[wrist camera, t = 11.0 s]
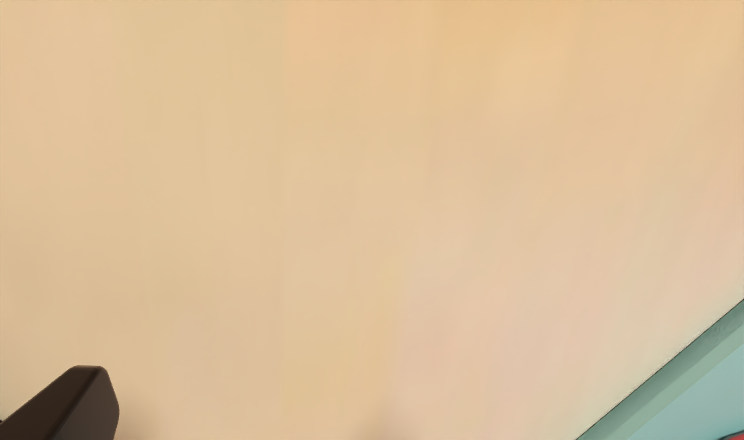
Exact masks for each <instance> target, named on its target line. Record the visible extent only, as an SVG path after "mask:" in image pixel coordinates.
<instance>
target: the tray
mask: <svg viewBox="0 0 744 440" xmlns="http://www.w3.org/2000/svg"><path fill="white" fill-rule="evenodd" d="M741 432H744V300H743V301H742V302H740V303H739V304H738V305H737V306H736V307H734V308H733V309H732V310H731V311H730V312H728V313H727V314H726V315H725V316H724V317H722V318H721V319H720V320H719V321H718V322H717V323H715V324H714V325H713V326H712V327H711V328H709V329H708V330H707V331H706V332H705V333H703V334H702V335H701V336H700V337H699V338H697V339H696V340H695V341H694V342H693V343H691V344H690V345H689V346H688V347H687V348H686V349H684V350H683V351H682V352H681V353H680V354H678V355H677V356H676V357H675V358H674V359H672V360H671V361H670V362H669V363H668V364H666V365H665V366H664V367H663V368H662V369H660V370H659V371H658V372H657V373H656V374H655V375H653V376H652V377H651V378H650V379H649V380H647V381H646V382H645V383H644V384H643V385H641V386H640V387H639V388H638V389H637V390H635V391H634V392H633V393H632V394H631V395H629V396H628V397H627V398H626V399H625V400H623V401H622V402H621V403H620V404H619V405H618V406H616V407H615V408H614V409H613V410H612V411H610V412H609V413H608V414H607V415H606V416H604V417H603V418H602V419H601V420H600V421H598V422H597V423H596V424H595V425H594V426H592V427H591V428H590V429H589V430H588V431H587V432H585V433H584V434H583V435H582V436H581V437H579V438H578V439H577V440H722V439H724V438H726V437H728V436H731V435H734V434H737V433H741Z"/></svg>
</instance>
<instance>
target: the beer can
mask: <svg viewBox="0 0 744 440" xmlns="http://www.w3.org/2000/svg"><path fill="white" fill-rule="evenodd" d="M722 440H744V432H741V433H737V434H734V435H731V436H728V437H726V438H724V439H722Z"/></svg>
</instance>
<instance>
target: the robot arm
mask: <svg viewBox="0 0 744 440" xmlns="http://www.w3.org/2000/svg"><path fill="white" fill-rule="evenodd" d="M118 420H119V404H118V401H117V398H116V395H115V392H114V389H113V386H112V384H111V381H110V378H109V375H108V373H107V371H106V370H105V369H104V368H103V367H101V366H84V365H78V366H74V367H72V368H70V369H68V370H67V371H66V372H64V373H63V374H62V375H61V376H59V377H58V378H57V379H56V380H54V381H53V382H52V383H51V384H49V385H48V386H47V387H46V388H44V389H43V390H42V391H40V392H39V393H38V394H37V395H35V396H34V397H33V398H32V399H30V400H29V401H28V402H27V403H25V404H24V405H23V406H22V407H20V408H19V409H18V410H16V411H15V412H14V413H13V414H11V415H10V416H9V417H8V418H6V419H5V420H4V421H1V420H0V440H113V439H114V435H115V431H116V428H117V424H118Z"/></svg>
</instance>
